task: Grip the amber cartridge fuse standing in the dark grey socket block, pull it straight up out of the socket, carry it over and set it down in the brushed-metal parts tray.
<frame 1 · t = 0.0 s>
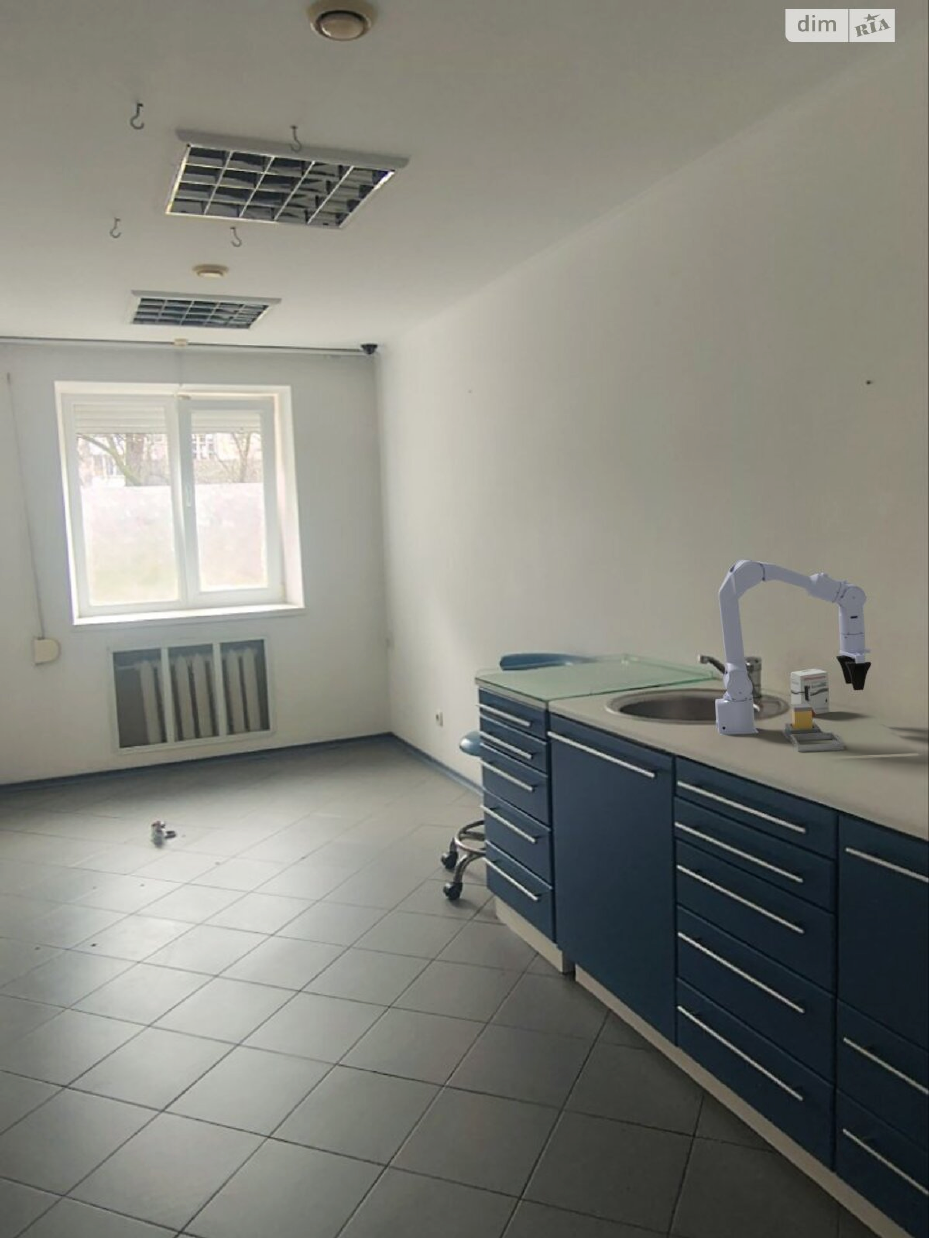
hand: (854, 686, 217), 10 cm above the worktop, tool pointing down, fingers open, 7 cm apart
ink box: (810, 715, 234), on the worktop
socket block: (802, 735, 215), on the worktop
parts tray: (816, 747, 204), on the worktop
fuse: (802, 733, 215), point 1 cm above the worktop, touching socket block
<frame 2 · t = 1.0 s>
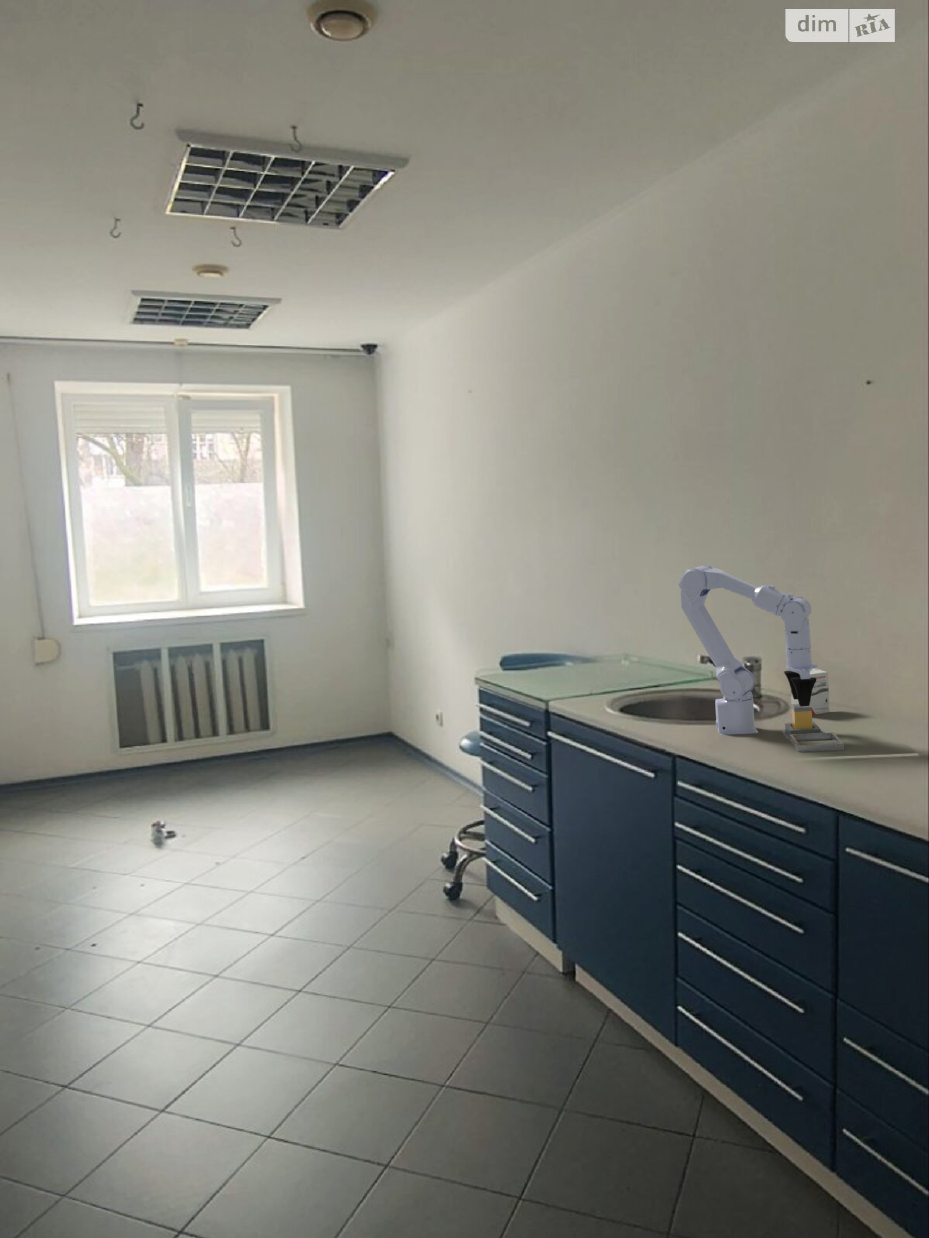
hand: (801, 702, 214), 8 cm above the worktop, tool pointing down, fingers open, 7 cm apart
nothing on the worktop moved.
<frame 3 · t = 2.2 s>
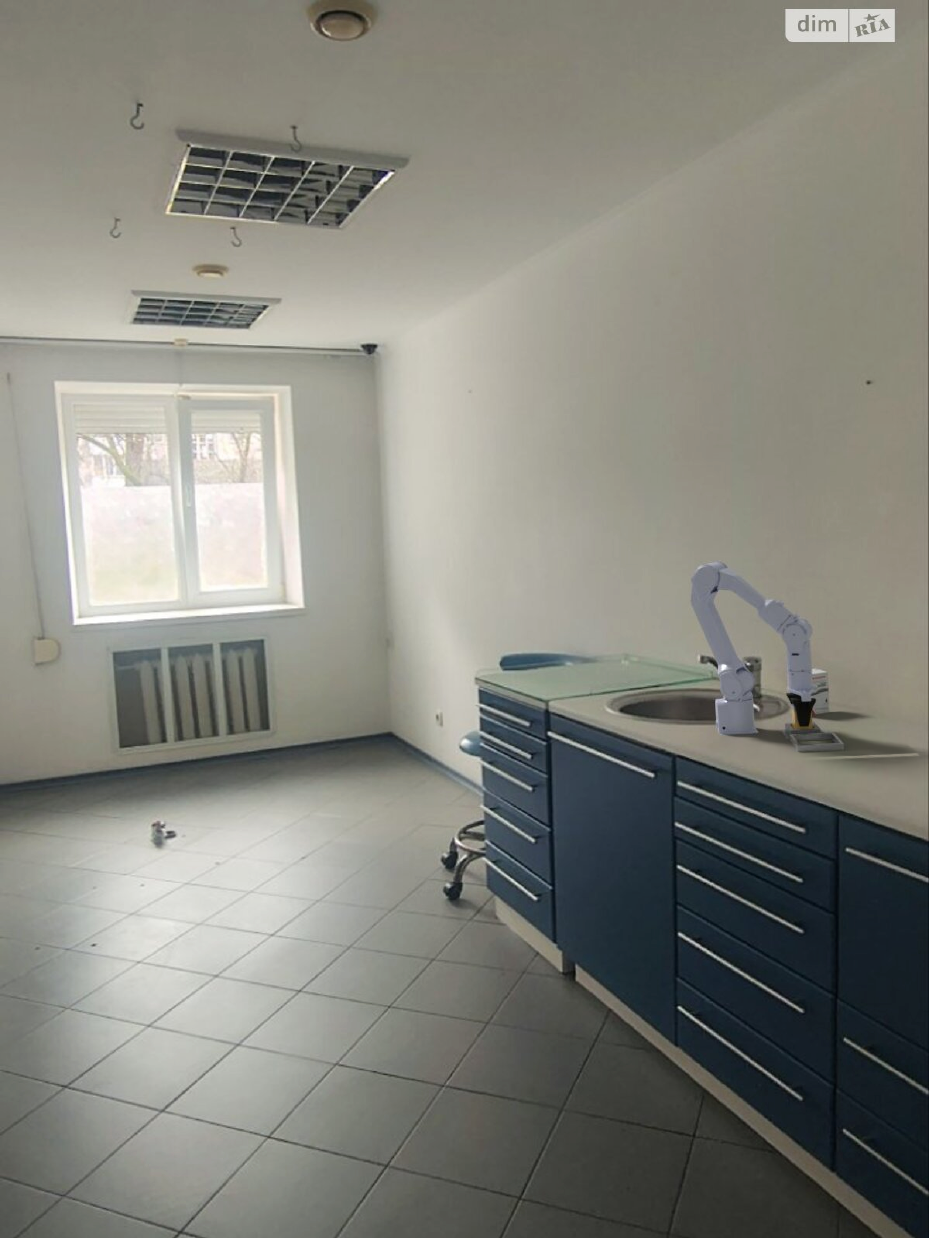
hand: (802, 723, 215), 3 cm above the worktop, tool pointing down, fingers closed on fuse, 4 cm apart
fuse: (802, 733, 215), point 1 cm above the worktop, touching gripper, socket block
everything else where it was.
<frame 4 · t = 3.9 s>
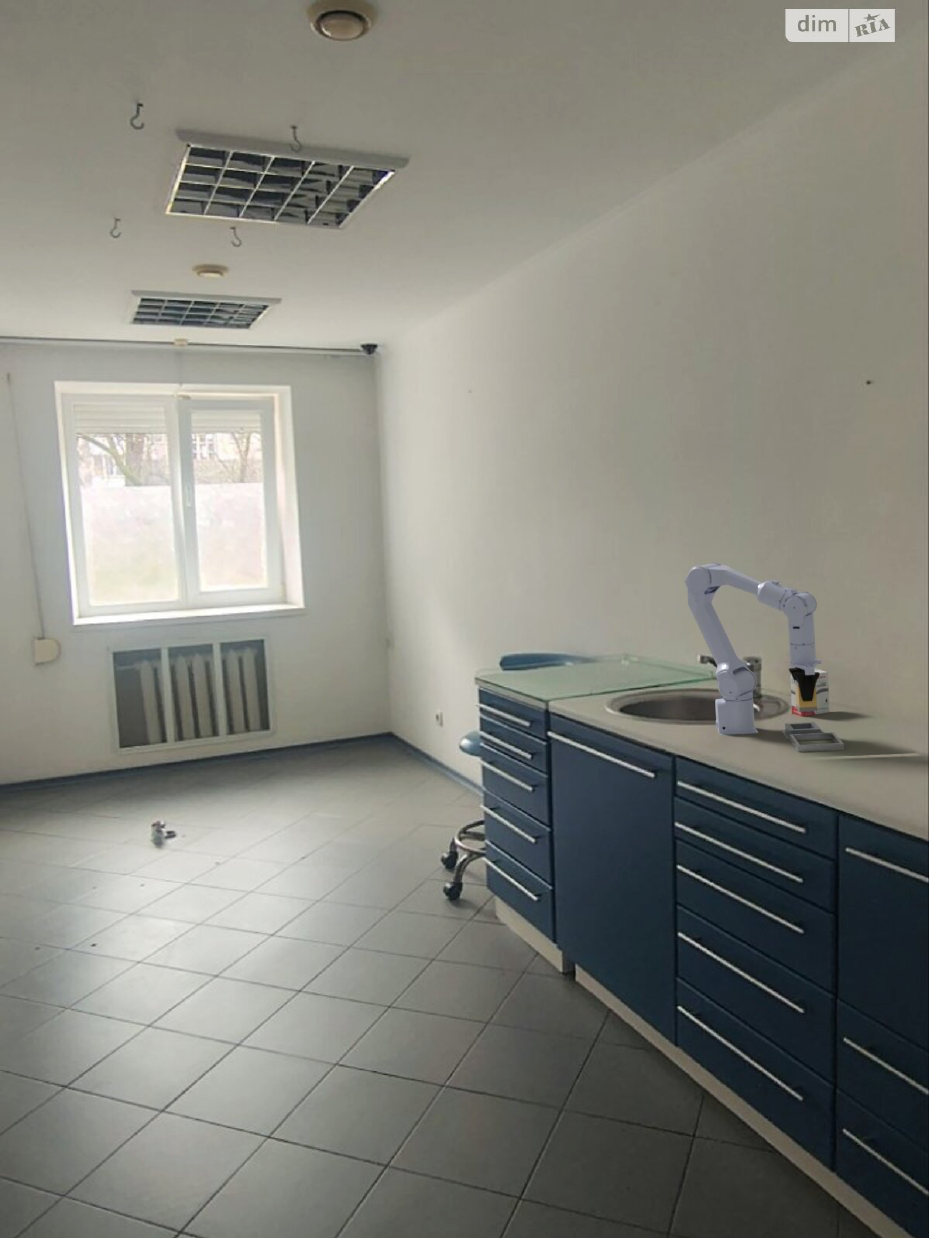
hand: (805, 698, 210), 10 cm above the worktop, tool pointing down, fingers closed on fuse, 4 cm apart
fuse: (806, 709, 211), point 7 cm above the worktop, touching gripper
everything else where it was.
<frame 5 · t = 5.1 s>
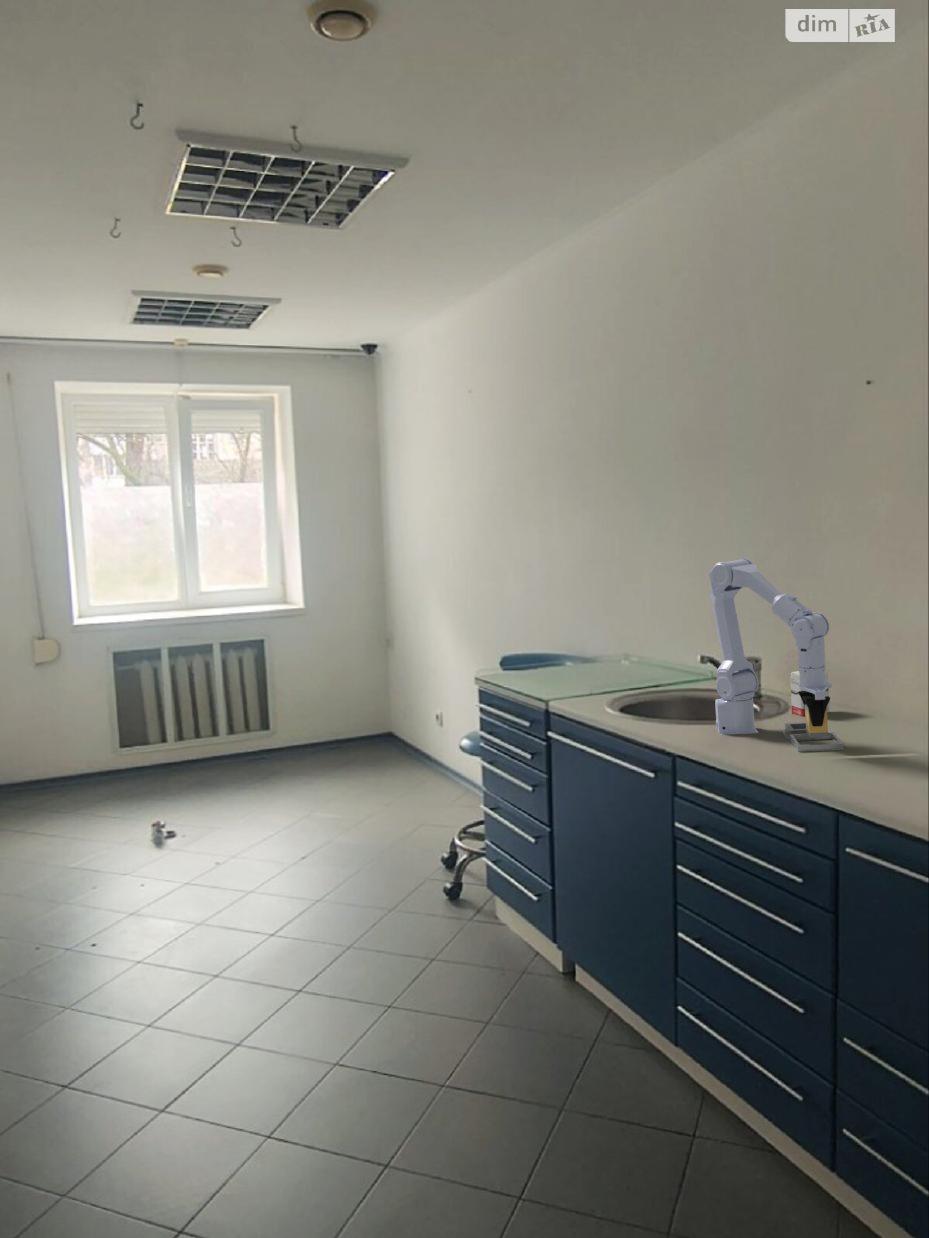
hand: (815, 723, 204), 6 cm above the worktop, tool pointing down, fingers closed on fuse, 4 cm apart
fuse: (817, 734, 204), point 3 cm above the worktop, touching gripper
everything else where it was.
when the fingers open (4 cm above the worktop, at t = 5.9 s): fuse stays where it is, resting on parts tray.
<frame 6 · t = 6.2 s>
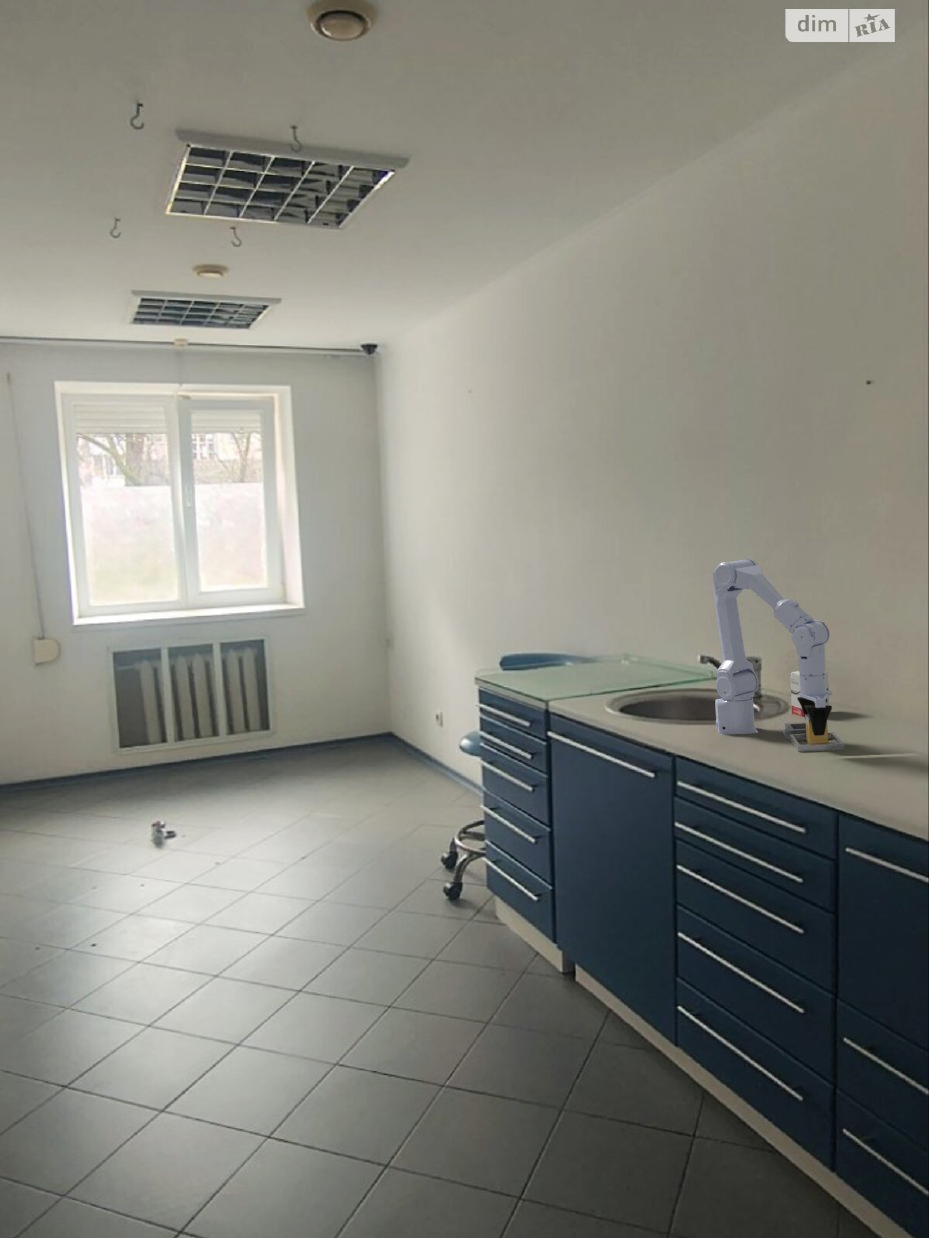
hand: (815, 730, 204), 4 cm above the worktop, tool pointing down, fingers open, 7 cm apart
fuse: (817, 745, 204), resting on parts tray
everything else where it was.
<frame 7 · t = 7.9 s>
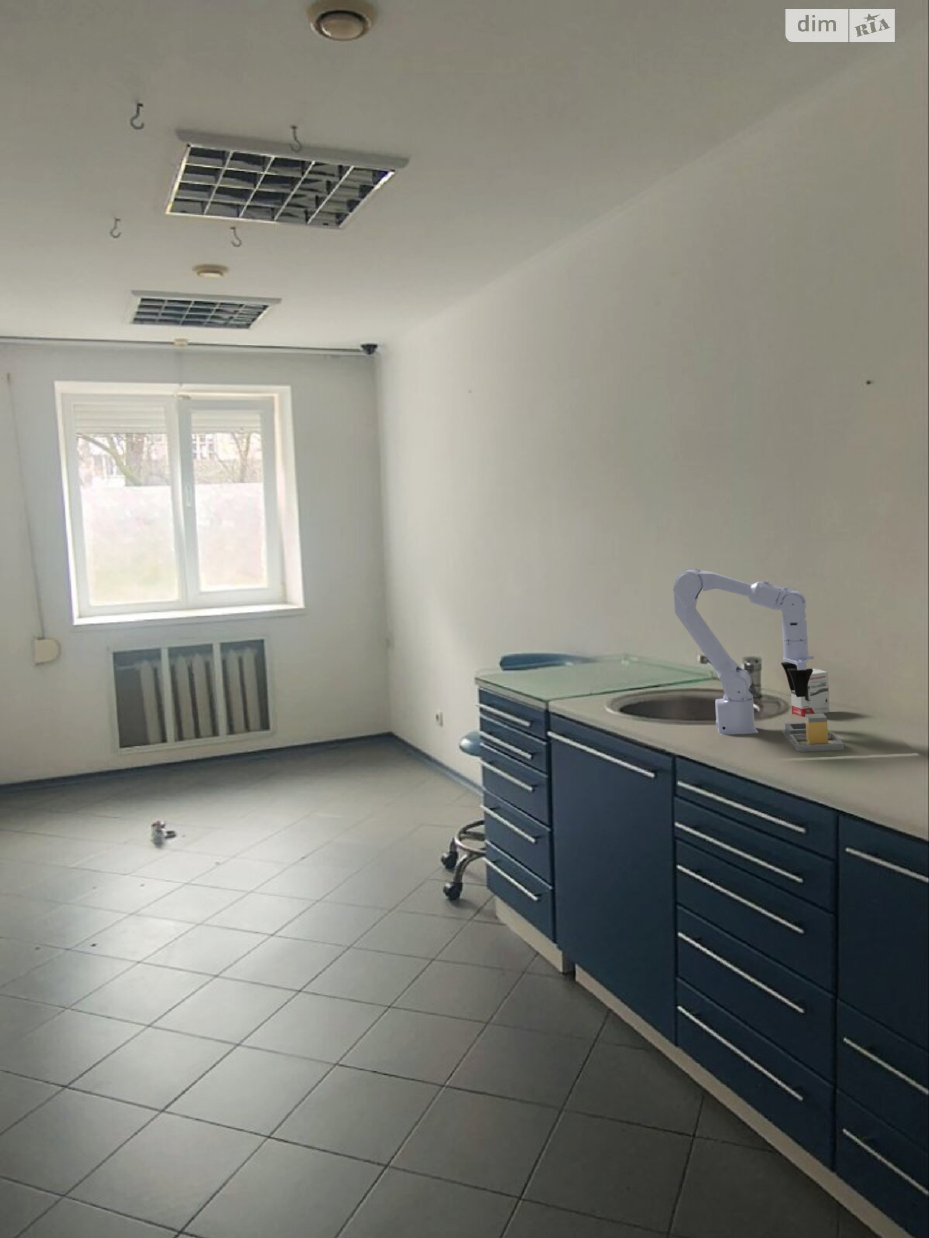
hand: (797, 693, 217), 10 cm above the worktop, tool pointing down, fingers open, 7 cm apart
nothing on the worktop moved.
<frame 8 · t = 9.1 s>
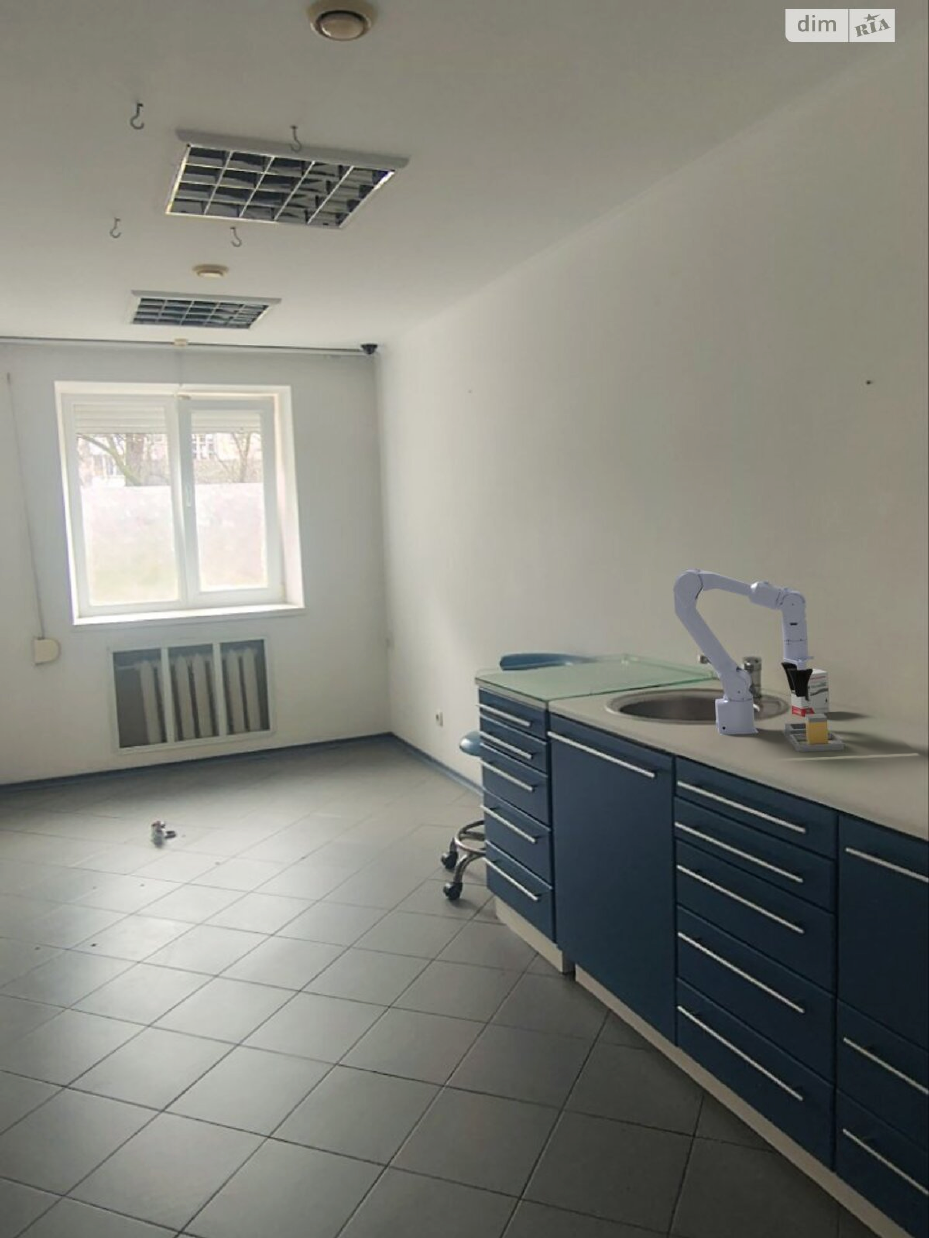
hand: (797, 693, 217), 10 cm above the worktop, tool pointing down, fingers open, 7 cm apart
nothing on the worktop moved.
at the end: fuse inside the target area on the parts tray (0.2 cm from its centre), point 0.5 cm above the parts tray's base; fuse touching parts tray; the gripper is holding nothing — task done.
